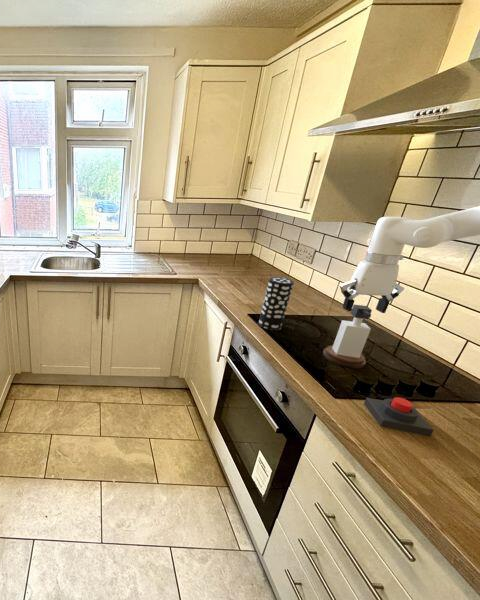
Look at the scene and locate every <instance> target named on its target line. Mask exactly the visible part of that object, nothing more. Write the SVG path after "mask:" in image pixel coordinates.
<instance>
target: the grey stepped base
mask: <svg viewBox="0 0 480 600" xmlns="http://www.w3.org/2000/svg"><path fill="white" fill-rule="evenodd" d="M393 399H394V398H385V399H383V400H382V399H377V398H371V397H366V398H365V401H364V402H363V405H364V406H365V408H366V409H367V410H368V412H369V413H370V415H371V416H372V418H373V419H374V420H375V421H376V423H377V424H378V426H379V427H381V428H385V429H386V428H387V429H390V430H396V431H401V432H406V433H410V434H416V435H421V436H426V437H432V435H433V433H434V430H435V429H434V428H433V427H432V425H430V424H429V422H428V421H427V420H426V419H425V418H424V417H423V416H422V415H421V414H420V412H419V410H417V409H416V407H414V406H413V407H412V409H411V411H410V413H405V412H401V411H399V410H396V409H395V408H393V407H392V406H391V403H392V401H393Z"/></svg>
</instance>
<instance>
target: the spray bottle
mask: <svg viewBox="0 0 480 600" xmlns="http://www.w3.org/2000/svg"><path fill="white" fill-rule="evenodd" d="M372 312H373V309H372V308H370V307H369V306H367V305H363V304H361V305H360V304H353V307H352V310H351V311H350V315H351V316H353V319H352V321H351V320H345V319H344V320H343V319H342V320H341V322H340V325H339V328H338V330H337V333H336V336H335V339H334V342H333V344H332V345H328V346H327V347H325V348H326V352H327V353H328V354H329V355H331V356H332V357H334V358H336V359H338V360H341V361H344V362H349V363H362V362H364V360H366V357H365V356H364V355H363V353H362V352H363V350H364V347H365V344H366V342H367V340H368V338H369V335H370V333H371V330H372V328H371V327H370V326H369V325H368V324H367V323H365V322H363V320H369V319H370V318H371V316H372Z"/></svg>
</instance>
